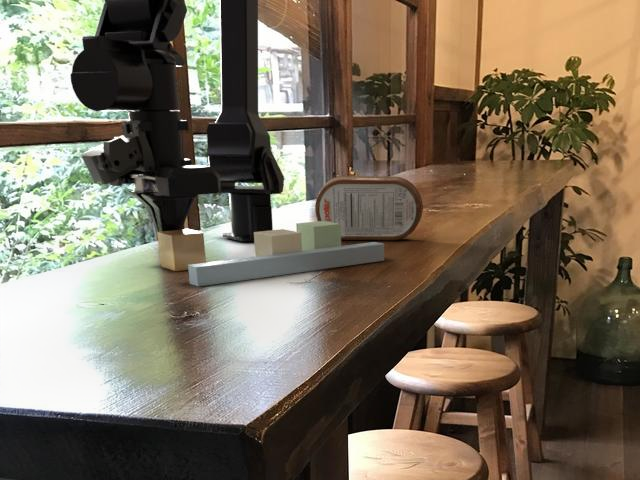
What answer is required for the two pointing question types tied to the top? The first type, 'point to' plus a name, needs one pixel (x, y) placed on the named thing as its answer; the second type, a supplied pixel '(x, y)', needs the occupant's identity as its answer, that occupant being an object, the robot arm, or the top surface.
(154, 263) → the top surface
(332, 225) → the sage block
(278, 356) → the top surface
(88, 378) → the top surface
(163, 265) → the maple block
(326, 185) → the tin
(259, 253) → the cream block
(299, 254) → the straightedge
